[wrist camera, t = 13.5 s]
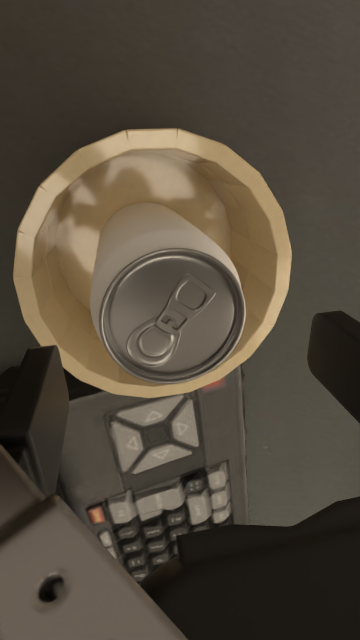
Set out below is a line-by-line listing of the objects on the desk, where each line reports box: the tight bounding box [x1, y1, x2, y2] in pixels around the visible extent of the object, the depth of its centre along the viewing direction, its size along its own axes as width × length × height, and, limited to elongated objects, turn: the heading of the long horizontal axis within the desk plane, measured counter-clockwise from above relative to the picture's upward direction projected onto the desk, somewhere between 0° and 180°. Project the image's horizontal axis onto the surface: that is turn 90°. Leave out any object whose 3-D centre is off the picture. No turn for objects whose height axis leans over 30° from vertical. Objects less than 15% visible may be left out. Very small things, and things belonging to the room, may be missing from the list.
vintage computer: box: [55, 363, 249, 585], centre depth 32 cm, size 43×29×8 cm
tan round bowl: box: [13, 128, 292, 398], centre depth 20 cm, size 14×14×8 cm
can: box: [90, 202, 246, 384], centre depth 18 cm, size 6×6×12 cm
